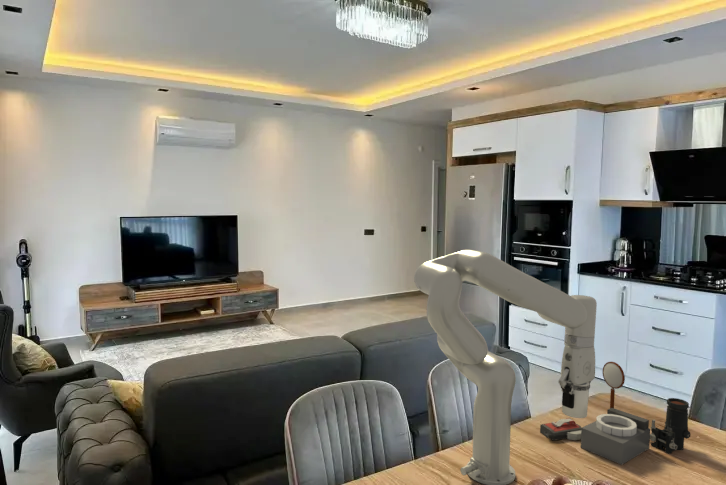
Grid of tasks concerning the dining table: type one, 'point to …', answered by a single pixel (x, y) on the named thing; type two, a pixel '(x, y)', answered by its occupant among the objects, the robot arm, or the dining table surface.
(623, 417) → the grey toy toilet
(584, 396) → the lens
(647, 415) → the dining table surface
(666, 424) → the scope
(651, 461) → the dining table surface
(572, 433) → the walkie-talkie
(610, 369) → the magnifying glass
